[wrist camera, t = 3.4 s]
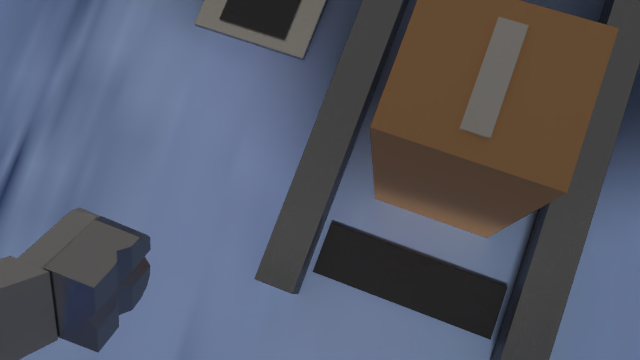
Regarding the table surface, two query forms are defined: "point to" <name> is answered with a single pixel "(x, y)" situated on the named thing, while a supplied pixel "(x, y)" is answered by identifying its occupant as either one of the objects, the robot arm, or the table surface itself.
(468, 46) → the orange brown box
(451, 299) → the switch channel
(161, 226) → the table surface
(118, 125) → the table surface
